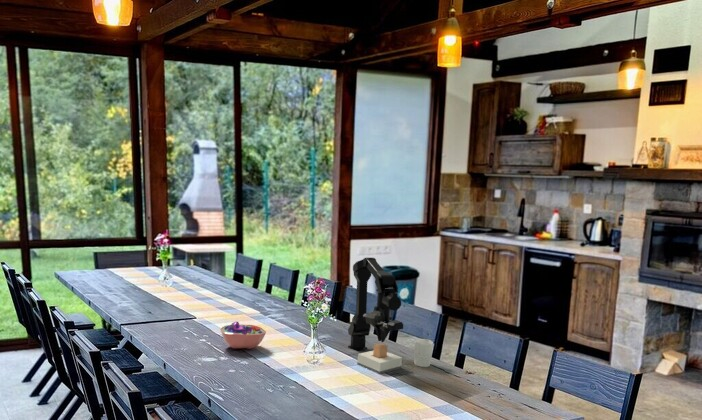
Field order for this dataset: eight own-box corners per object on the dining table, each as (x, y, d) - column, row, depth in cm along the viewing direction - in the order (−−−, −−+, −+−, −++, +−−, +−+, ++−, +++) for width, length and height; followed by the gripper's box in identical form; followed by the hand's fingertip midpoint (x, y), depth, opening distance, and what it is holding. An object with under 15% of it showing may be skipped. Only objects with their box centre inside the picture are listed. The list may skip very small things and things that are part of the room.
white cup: (417, 367, 229) (418, 344, 229) (410, 361, 237) (411, 338, 236) (434, 367, 231) (436, 344, 231) (426, 361, 239) (428, 338, 238)
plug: (372, 363, 227) (373, 344, 227) (380, 361, 230) (381, 343, 230) (378, 366, 225) (379, 347, 224) (386, 364, 228) (387, 345, 227)
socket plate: (357, 364, 228) (358, 352, 228) (379, 359, 237) (379, 347, 237) (379, 374, 219) (380, 361, 218) (401, 368, 227) (402, 356, 227)
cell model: (256, 356, 229) (258, 330, 229) (212, 350, 233) (213, 324, 233) (270, 345, 246) (271, 320, 245) (228, 339, 250) (230, 315, 249)
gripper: (354, 301, 228) (351, 338, 229) (386, 311, 214) (383, 350, 215) (373, 299, 235) (370, 334, 236) (405, 308, 222) (402, 346, 222)
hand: (381, 341), depth 227 cm, fingers closed
